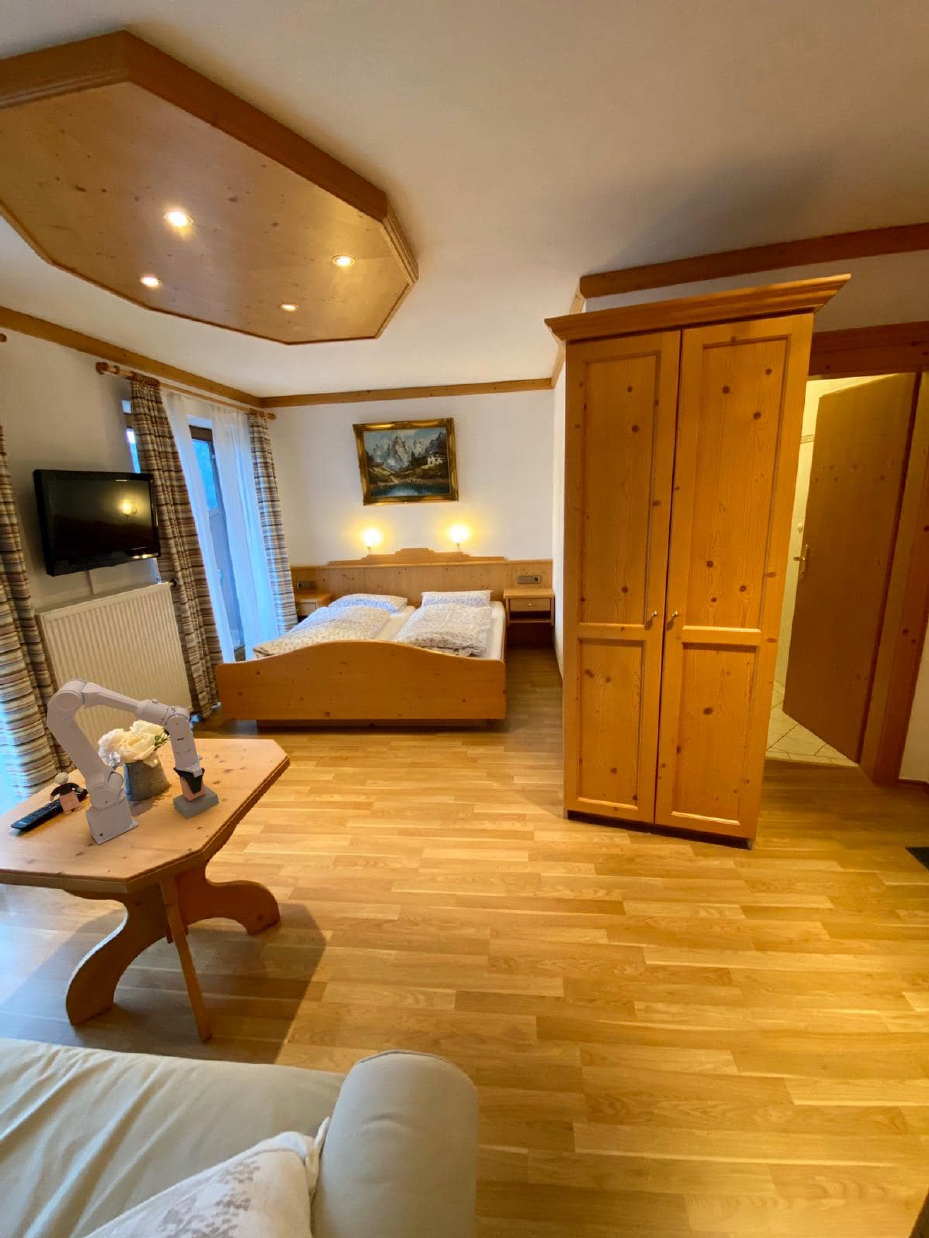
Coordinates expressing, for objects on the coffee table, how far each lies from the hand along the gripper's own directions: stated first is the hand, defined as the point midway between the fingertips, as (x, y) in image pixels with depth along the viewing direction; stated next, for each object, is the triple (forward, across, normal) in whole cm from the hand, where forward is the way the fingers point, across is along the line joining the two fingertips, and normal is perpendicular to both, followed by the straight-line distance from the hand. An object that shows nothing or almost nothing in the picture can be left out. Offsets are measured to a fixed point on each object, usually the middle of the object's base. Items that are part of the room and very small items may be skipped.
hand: (193, 789), depth 141 cm
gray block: (+5, 0, 0) cm, 5 cm away
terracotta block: (+2, 0, 0) cm, 2 cm away
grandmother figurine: (+6, +30, +24) cm, 39 cm away
